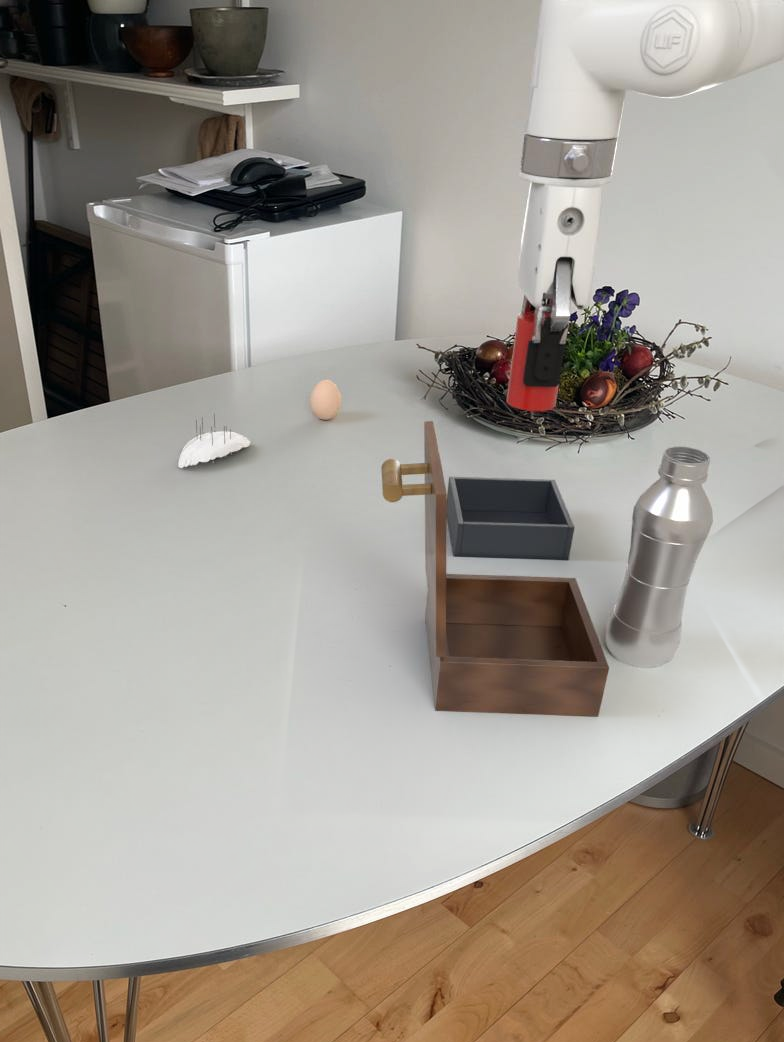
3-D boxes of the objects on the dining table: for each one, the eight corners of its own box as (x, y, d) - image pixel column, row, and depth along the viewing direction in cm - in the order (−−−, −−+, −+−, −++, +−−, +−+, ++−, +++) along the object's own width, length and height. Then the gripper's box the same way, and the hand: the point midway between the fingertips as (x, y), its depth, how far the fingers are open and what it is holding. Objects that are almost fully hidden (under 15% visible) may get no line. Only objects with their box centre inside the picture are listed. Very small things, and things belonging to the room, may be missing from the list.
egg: (303, 418, 140) (303, 379, 137) (325, 411, 142) (326, 373, 139) (324, 427, 137) (325, 387, 134) (347, 419, 140) (348, 380, 136)
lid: (433, 420, 82) (379, 423, 83) (446, 493, 70) (383, 496, 71) (434, 568, 90) (384, 570, 91) (445, 656, 78) (388, 659, 79)
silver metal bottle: (652, 635, 93) (702, 437, 82) (687, 675, 87) (746, 469, 76) (588, 640, 92) (630, 441, 81) (620, 682, 86) (669, 474, 75)
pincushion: (234, 439, 133) (233, 399, 130) (264, 451, 129) (264, 410, 126) (165, 463, 126) (162, 421, 123) (195, 477, 122) (193, 434, 119)
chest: (565, 629, 93) (575, 577, 90) (596, 724, 81) (609, 667, 78) (424, 625, 94) (429, 572, 91) (434, 718, 82) (440, 661, 78)
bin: (549, 514, 114) (554, 479, 112) (567, 564, 104) (574, 527, 102) (445, 511, 115) (449, 476, 112) (454, 561, 105) (458, 523, 102)
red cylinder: (550, 395, 94) (563, 310, 89) (559, 411, 90) (574, 324, 86) (503, 394, 94) (514, 309, 90) (510, 410, 90) (522, 323, 86)
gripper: (638, 176, 73) (595, 408, 84) (590, 148, 88) (558, 349, 98) (539, 175, 74) (508, 407, 84) (507, 146, 88) (483, 348, 98)
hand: (535, 373), depth 91 cm, fingers closed on red cylinder, 4 cm apart
